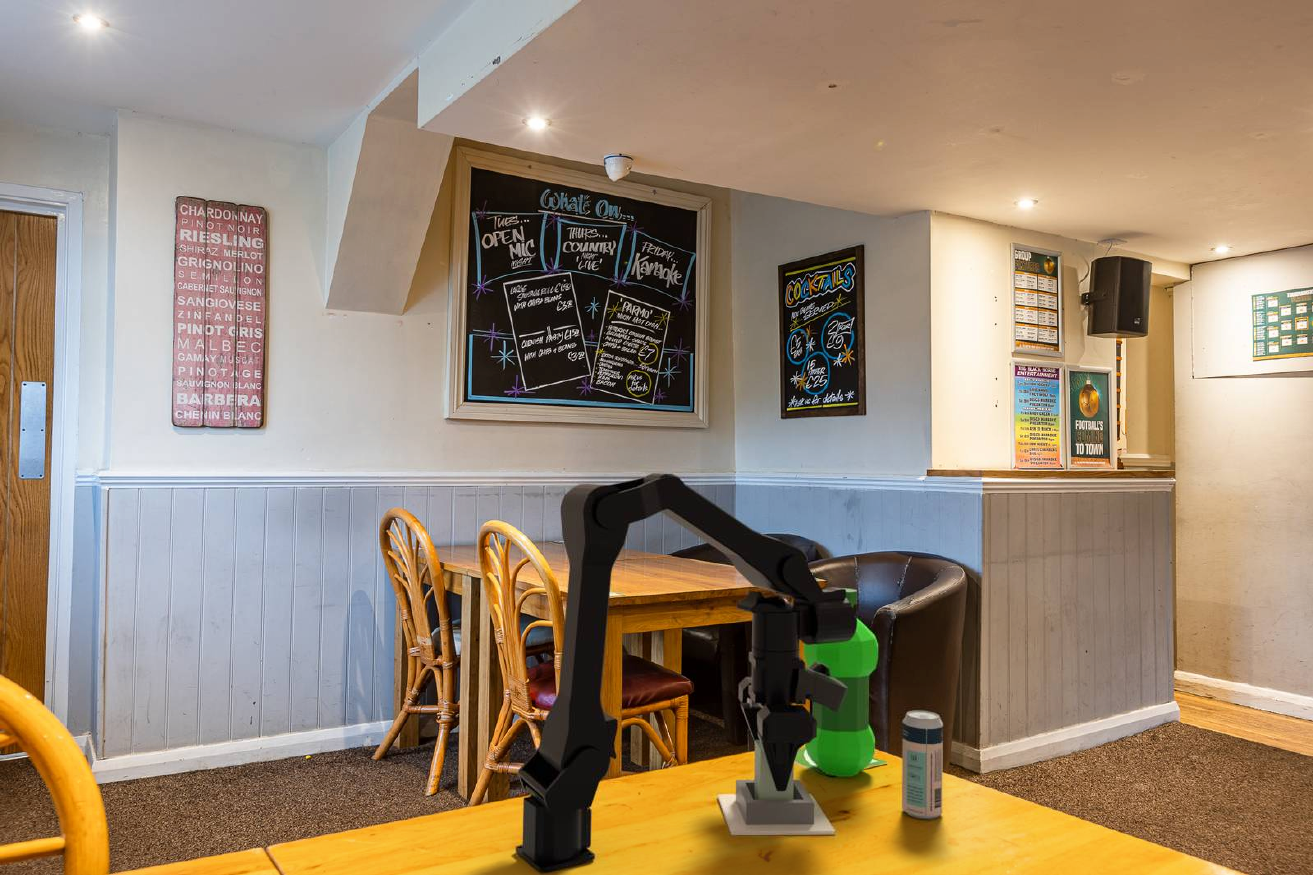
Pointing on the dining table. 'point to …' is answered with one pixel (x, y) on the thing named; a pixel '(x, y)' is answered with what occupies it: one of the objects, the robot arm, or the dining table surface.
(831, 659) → the plastic bottle
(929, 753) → the beer can
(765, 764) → the sage block
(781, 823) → the socket
